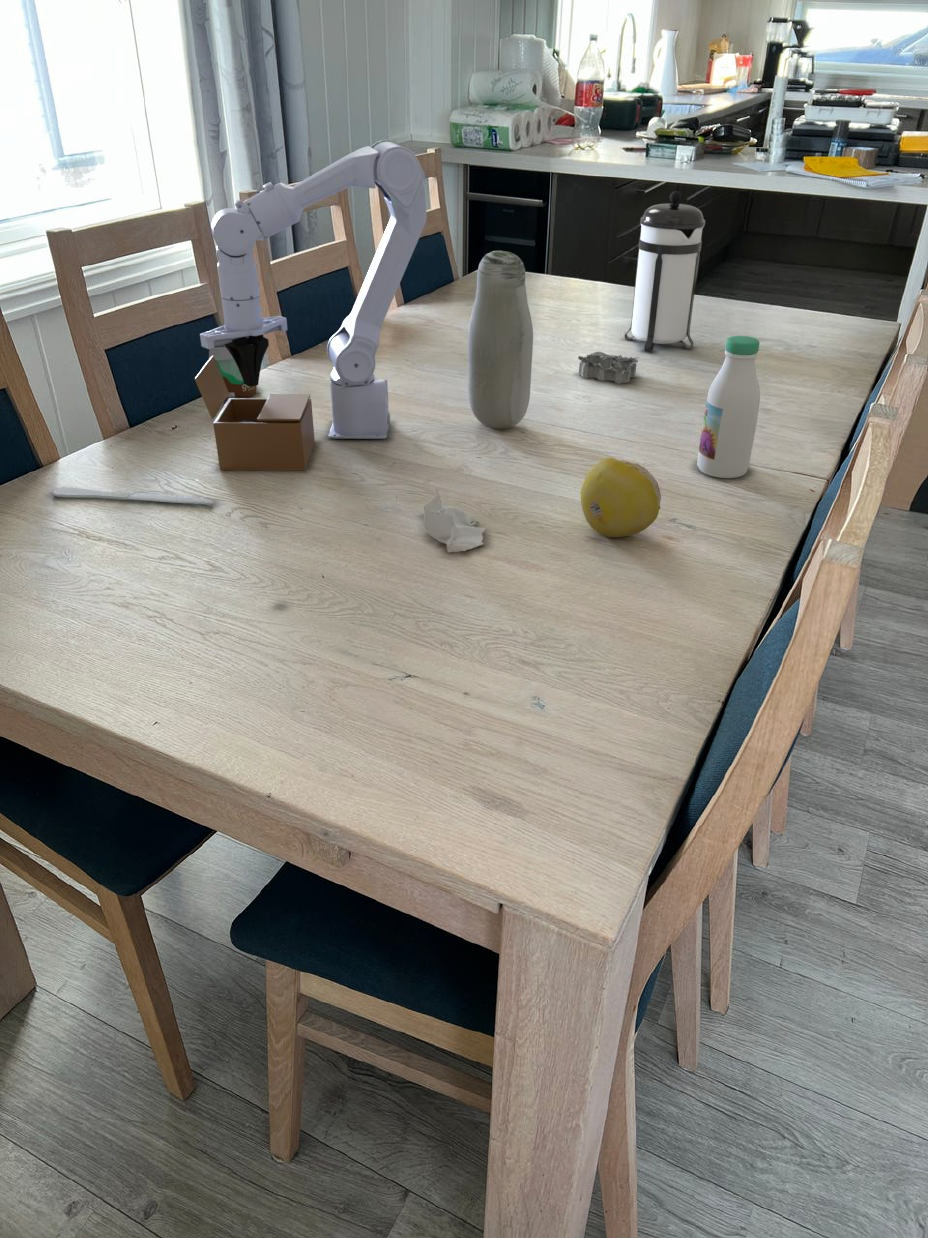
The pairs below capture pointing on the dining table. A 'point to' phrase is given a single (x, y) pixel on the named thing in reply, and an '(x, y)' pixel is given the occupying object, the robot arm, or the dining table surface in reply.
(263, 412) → the carton
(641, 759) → the dining table surface
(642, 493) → the fruit
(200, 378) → the flap
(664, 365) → the dining table surface
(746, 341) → the milk bottle
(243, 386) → the food container
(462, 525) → the fabric
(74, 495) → the butter knife
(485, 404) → the grey bottle
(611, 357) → the egg carton
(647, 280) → the coffee press
